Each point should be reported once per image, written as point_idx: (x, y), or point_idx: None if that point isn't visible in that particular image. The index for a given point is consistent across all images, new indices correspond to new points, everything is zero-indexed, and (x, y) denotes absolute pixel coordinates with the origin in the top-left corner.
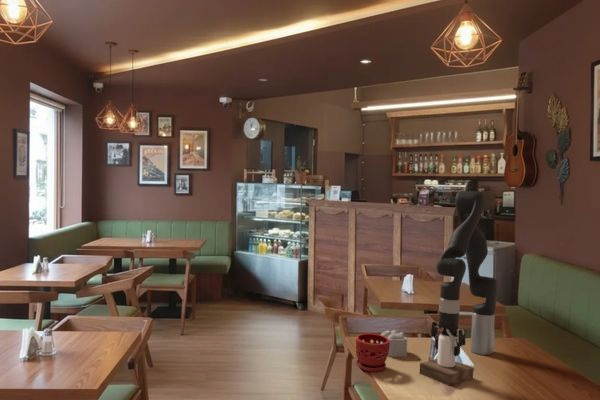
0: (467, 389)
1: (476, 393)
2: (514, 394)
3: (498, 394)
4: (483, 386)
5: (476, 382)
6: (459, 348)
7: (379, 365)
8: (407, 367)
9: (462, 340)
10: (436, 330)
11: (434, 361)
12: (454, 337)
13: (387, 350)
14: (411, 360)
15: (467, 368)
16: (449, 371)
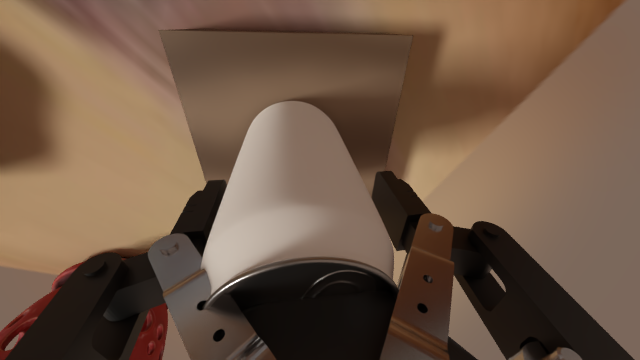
0: (420, 160)
1: (454, 161)
2: (585, 39)
3: (522, 101)
4: (458, 81)
5: (420, 67)
6: (423, 213)
7: None
8: (147, 191)
9: (497, 265)
10: (95, 351)
11: (220, 154)
12: (391, 276)
13: (142, 344)
14: (31, 110)
15: (392, 81)
16: None
